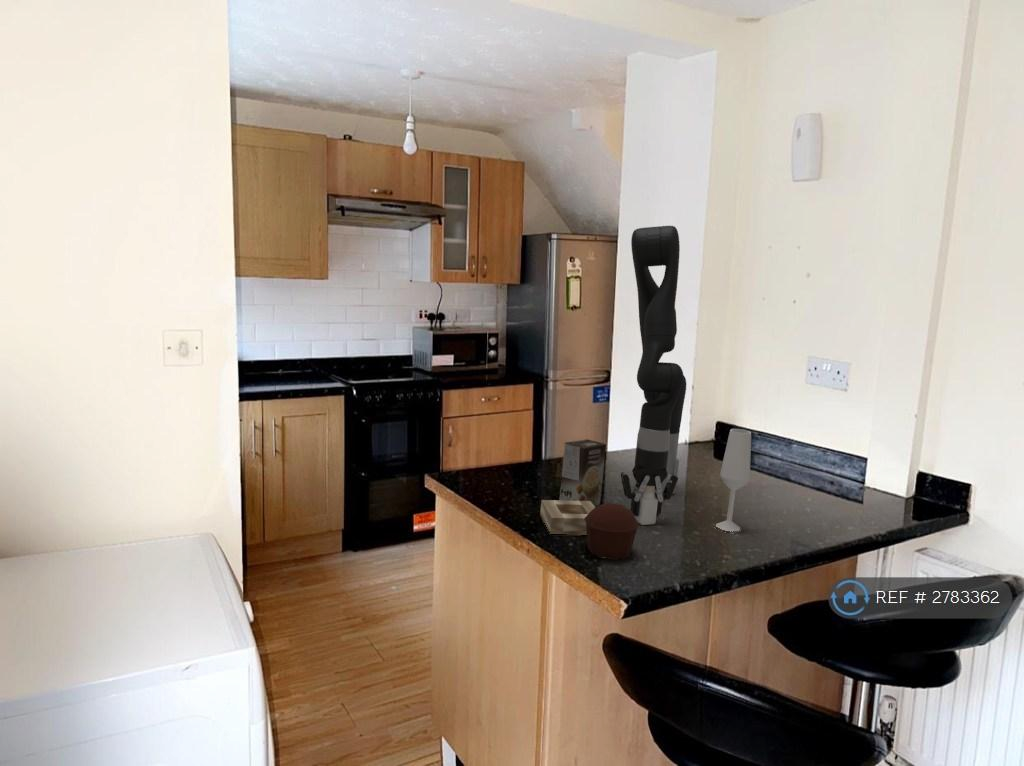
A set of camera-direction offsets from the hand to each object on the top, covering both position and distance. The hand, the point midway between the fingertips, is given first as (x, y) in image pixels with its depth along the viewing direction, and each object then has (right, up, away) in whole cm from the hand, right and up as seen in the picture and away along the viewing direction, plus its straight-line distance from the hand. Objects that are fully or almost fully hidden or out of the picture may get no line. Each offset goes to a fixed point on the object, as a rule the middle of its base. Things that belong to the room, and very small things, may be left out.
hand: (645, 515), depth 167 cm
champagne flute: (+20, -3, +1) cm, 20 cm away
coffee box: (-15, +1, +10) cm, 18 cm away
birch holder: (-18, -1, -6) cm, 19 cm away
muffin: (-11, -4, -19) cm, 23 cm away
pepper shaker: (0, -2, 0) cm, 2 cm away
